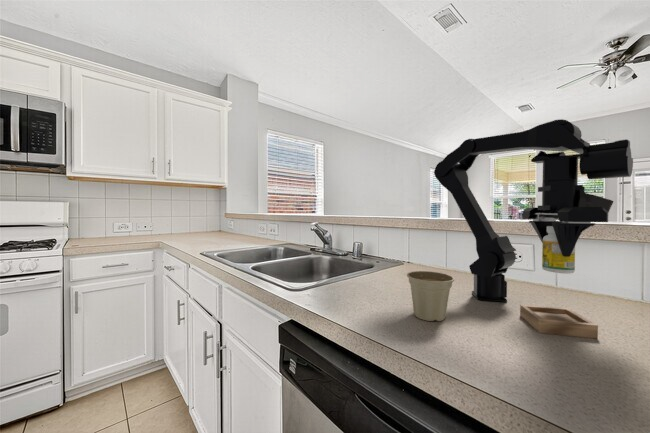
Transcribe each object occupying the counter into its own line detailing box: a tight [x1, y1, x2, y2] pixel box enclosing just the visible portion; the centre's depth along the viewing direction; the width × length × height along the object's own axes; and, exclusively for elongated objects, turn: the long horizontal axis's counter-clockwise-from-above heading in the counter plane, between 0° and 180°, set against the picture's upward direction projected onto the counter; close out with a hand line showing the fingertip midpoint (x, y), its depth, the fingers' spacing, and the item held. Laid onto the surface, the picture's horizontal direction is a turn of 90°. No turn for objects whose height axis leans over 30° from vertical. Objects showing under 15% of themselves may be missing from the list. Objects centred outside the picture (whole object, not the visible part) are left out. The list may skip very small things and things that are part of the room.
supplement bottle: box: [541, 226, 576, 275], centre depth 59 cm, size 5×5×10 cm
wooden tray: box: [519, 304, 599, 339], centre depth 53 cm, size 9×9×2 cm
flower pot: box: [406, 270, 456, 322], centre depth 58 cm, size 9×9×9 cm
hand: (557, 254), depth 59 cm, fingers closed on supplement bottle, 5 cm apart
